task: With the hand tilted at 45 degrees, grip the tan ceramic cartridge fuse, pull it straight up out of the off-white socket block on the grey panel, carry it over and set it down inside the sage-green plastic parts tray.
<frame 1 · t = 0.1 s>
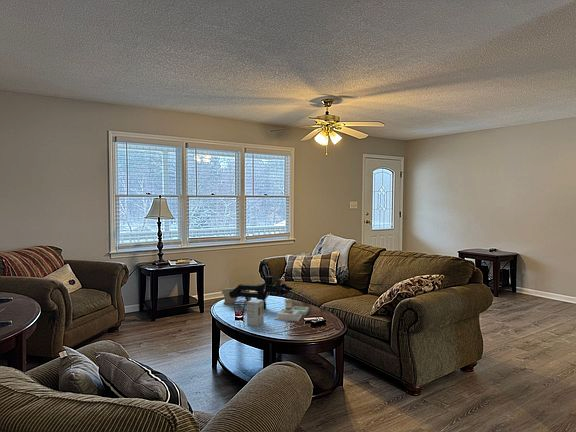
hand: (291, 290, 317), 17 cm above the table, tool horizontal, fingers open, 9 cm apart
fuse panel: (288, 317, 299), on the table
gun: (236, 304, 339), on the table
supplement box: (255, 323, 286), on the table
parts tray: (299, 312, 313), on the table
fuse: (288, 316, 299), point 1 cm above the table, touching fuse panel
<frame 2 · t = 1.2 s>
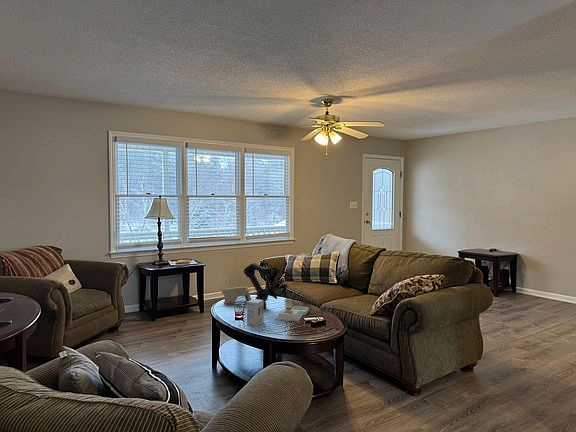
hand: (281, 297, 305), 14 cm above the table, tool tilted 45°, fingers open, 9 cm apart
nothing on the table moved.
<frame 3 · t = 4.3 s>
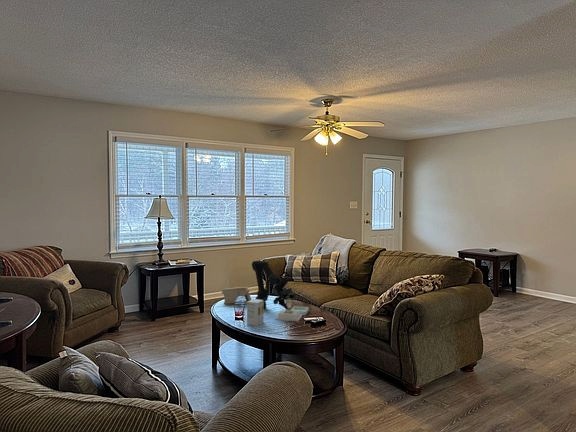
hand: (289, 308, 298), 8 cm above the table, tool tilted 45°, fingers closed on fuse, 4 cm apart
fuse: (288, 316, 299), point 1 cm above the table, touching fuse panel, gripper
everything else where it was.
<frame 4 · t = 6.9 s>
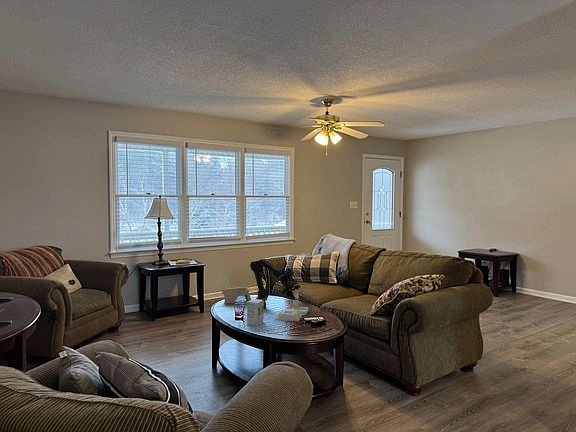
hand: (297, 298, 302), 14 cm above the table, tool tilted 45°, fingers closed on fuse, 4 cm apart
fuse: (295, 307, 303), point 7 cm above the table, touching gripper
everything else where it was.
when the fingers open (9 cm above the table, at t = 9.3 s): fuse drops 1 cm, resting on parts tray.
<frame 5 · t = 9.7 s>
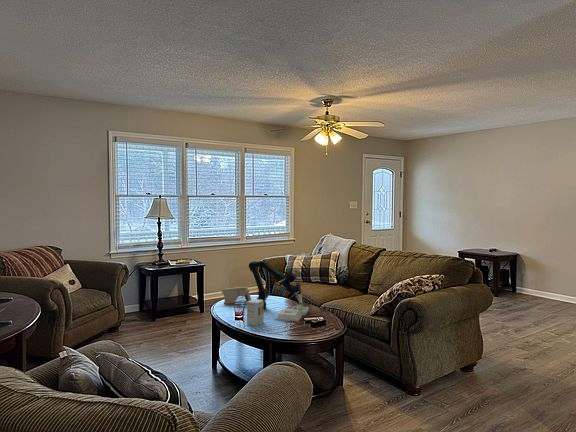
hand: (301, 301, 312), 9 cm above the table, tool tilted 45°, fingers open, 9 cm apart
fuse: (299, 311, 313), point 1 cm above the table, touching parts tray
everything else where it was.
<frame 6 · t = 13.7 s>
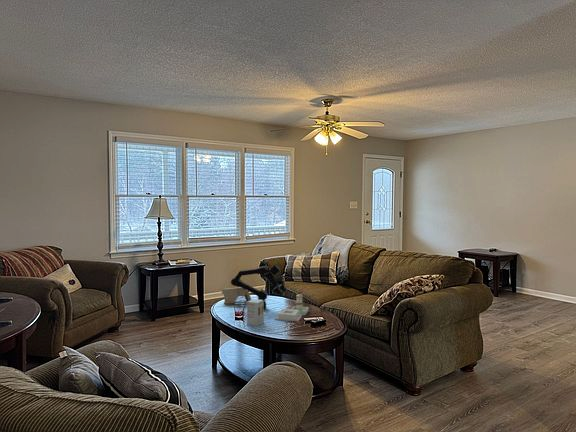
hand: (284, 293, 319), 14 cm above the table, tool tilted 45°, fingers open, 9 cm apart
nothing on the table moved.
at the end: fuse inside the target area on the parts tray (0.0 cm from its centre), point 1.0 cm above the parts tray's base; the gripper is holding nothing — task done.
